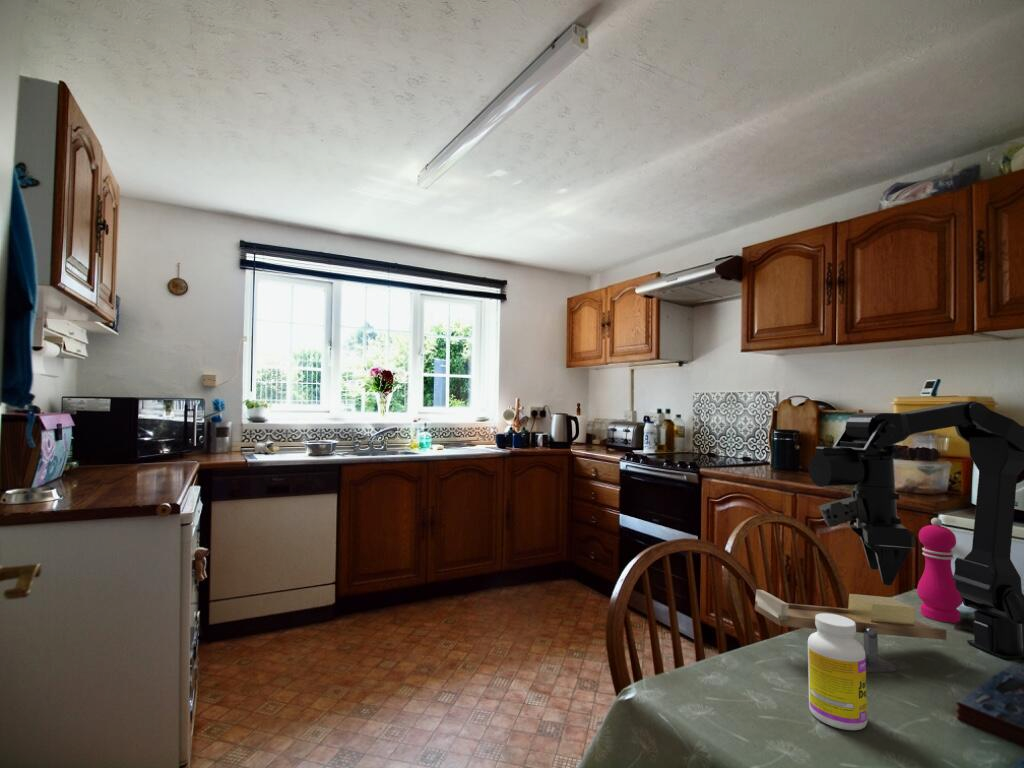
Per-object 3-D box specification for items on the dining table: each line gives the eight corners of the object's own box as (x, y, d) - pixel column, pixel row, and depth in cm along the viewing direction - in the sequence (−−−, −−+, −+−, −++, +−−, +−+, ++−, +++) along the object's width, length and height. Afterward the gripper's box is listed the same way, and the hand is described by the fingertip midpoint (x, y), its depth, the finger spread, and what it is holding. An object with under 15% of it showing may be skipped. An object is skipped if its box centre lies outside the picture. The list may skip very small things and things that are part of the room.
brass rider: (888, 617, 92) (890, 597, 92) (913, 628, 87) (915, 607, 87) (847, 613, 91) (849, 593, 91) (870, 625, 86) (872, 603, 86)
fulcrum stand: (839, 639, 94) (838, 604, 95) (895, 671, 82) (894, 631, 83) (809, 640, 94) (808, 605, 94) (861, 672, 82) (860, 632, 82)
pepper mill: (946, 611, 109) (942, 515, 110) (973, 624, 102) (968, 521, 103) (909, 609, 110) (906, 514, 111) (933, 623, 102) (929, 520, 104)
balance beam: (909, 623, 93) (910, 603, 94) (946, 639, 86) (947, 618, 87) (754, 609, 90) (756, 589, 90) (780, 626, 83) (781, 603, 83)
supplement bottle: (869, 739, 65) (865, 633, 65) (808, 722, 68) (805, 622, 69) (866, 713, 70) (863, 616, 71) (810, 699, 74) (807, 607, 75)
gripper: (814, 477, 101) (818, 558, 101) (829, 490, 84) (834, 588, 83) (882, 479, 97) (887, 563, 96) (912, 493, 80) (919, 596, 79)
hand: (880, 576), depth 89 cm, fingers open, 9 cm apart
